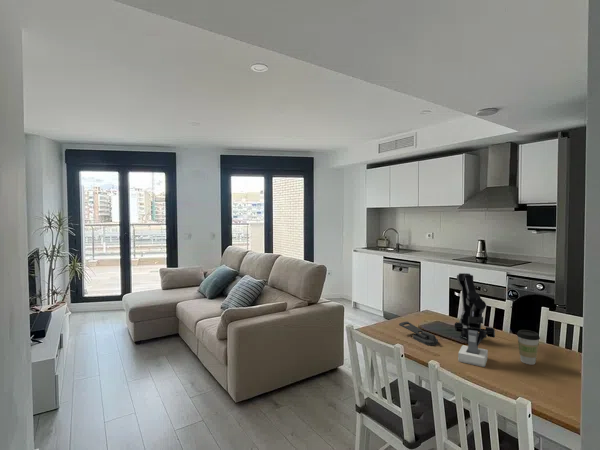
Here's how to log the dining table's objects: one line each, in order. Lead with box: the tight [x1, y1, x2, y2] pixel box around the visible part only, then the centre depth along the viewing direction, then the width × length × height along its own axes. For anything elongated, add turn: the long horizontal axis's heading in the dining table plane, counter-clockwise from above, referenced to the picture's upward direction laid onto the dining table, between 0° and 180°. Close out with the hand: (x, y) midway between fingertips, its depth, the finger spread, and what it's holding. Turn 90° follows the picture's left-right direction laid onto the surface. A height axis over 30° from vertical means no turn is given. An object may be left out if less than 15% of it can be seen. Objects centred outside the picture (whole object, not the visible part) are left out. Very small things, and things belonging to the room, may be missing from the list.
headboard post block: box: [457, 344, 489, 368], centre depth 176 cm, size 12×12×4 cm
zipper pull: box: [398, 321, 439, 346], centre depth 207 cm, size 9×7×25 cm
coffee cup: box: [516, 329, 541, 365], centre depth 172 cm, size 10×10×15 cm
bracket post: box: [467, 330, 479, 355], centre depth 176 cm, size 5×4×13 cm
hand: (472, 344), depth 175 cm, fingers closed on bracket post, 4 cm apart
